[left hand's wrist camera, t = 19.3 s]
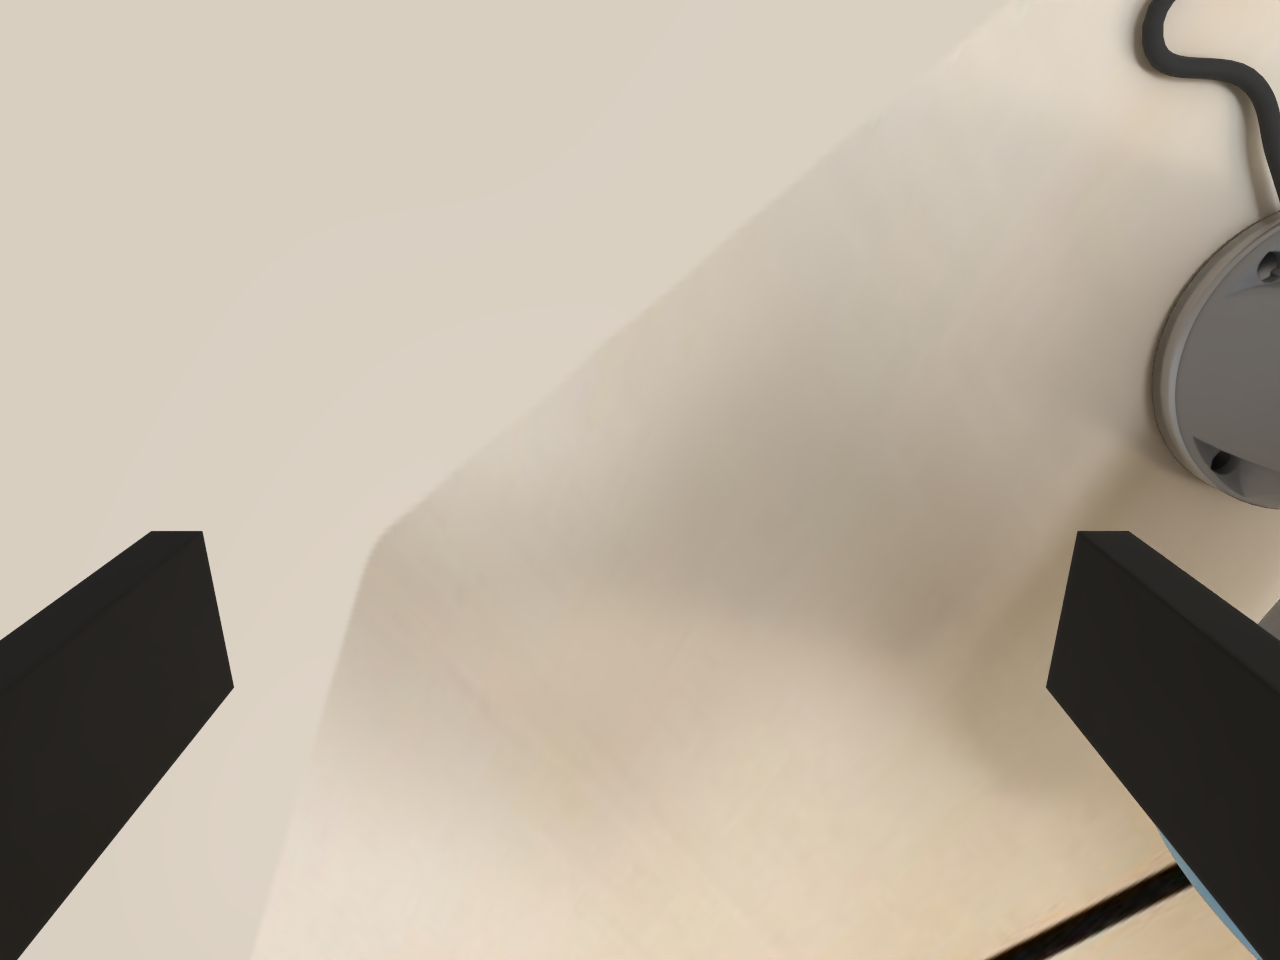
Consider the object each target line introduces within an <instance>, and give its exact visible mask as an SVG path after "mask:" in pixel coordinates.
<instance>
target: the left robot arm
mask: <svg viewBox="0 0 1280 960" xmlns="http://www.w3.org/2000/svg"><path fill="white" fill-rule="evenodd" d="M1174 1H1175V0H1153V1H1152V3H1151V4H1150V6H1149V7H1148V10H1147V13H1146V16H1145V19H1144V22H1143V26H1142V45H1143V48H1144V52H1145V56H1146V57H1147V59H1148V60H1149V62H1150V63H1151V65H1152V66H1153V67H1154V68H1156V69H1157V70H1158V71H1160V72H1162V73H1164V74H1167V75H1170V76H1175V77H1182V78H1200V79H1215V80H1222V81H1226V82H1230V83H1233V84H1235V85H1237V86H1239V87H1240V88H1241V89H1242V90H1243V91H1244V92H1246V94H1247V95H1248V96H1249V98H1250V99H1251V101H1252V103H1253V105H1254V107H1255V110H1256V113H1257V117H1258V121H1259V127H1260V133H1261V138H1262V144H1263V148H1264V153H1265V156H1266V159H1267V163H1268V166H1269V169H1270V172H1271V175H1272V178H1273V182H1274V185H1275V188H1276V191H1277V195H1278V198H1279V201H1280V112H1279V107H1278V104H1277V101H1276V98H1275V95H1274V93H1273V91H1272V89H1271V88H1270V86H1269V84H1268V83H1267V82H1266V80H1265V79H1264V78H1263V77H1262V76H1261V75H1260V74H1259V73H1258V72H1257V71H1256V70H1254V69H1253V68H1251V67H1249V66H1247V65H1245V64H1243V63H1239V62H1236V61H1232V60H1225V59H1213V58H1193V57H1185V56H1179V55H1177V54H1174V53H1172V52H1171V51H1169V50H1168V48H1167V47H1166V45H1165V42H1164V38H1163V23H1164V20H1165V17H1166V14H1167V11H1168V10H1169V8H1170V7H1171V5H1172V4H1173V2H1174ZM1152 397H1153V406H1154V412H1155V417H1156V420H1157V423H1158V427H1159V429H1160V432H1161V434H1162V436H1163V439H1164V441H1165V442H1166V444H1167V446H1168V448H1169V449H1170V451H1171V452H1172V453H1173V455H1174V456H1175V457H1176V459H1177V460H1178V461H1179V462H1180V463H1181V464H1182V465H1183V466H1184V467H1185V468H1186V469H1187V470H1188V471H1190V472H1191V473H1192V474H1193V475H1195V476H1196V477H1198V478H1199V479H1201V480H1202V481H1204V482H1206V483H1207V484H1209V485H1211V486H1213V487H1215V488H1217V489H1218V490H1220V491H1222V492H1224V493H1226V494H1228V495H1230V496H1232V497H1234V498H1236V499H1238V500H1240V501H1243V502H1246V503H1249V504H1252V505H1256V506H1260V507H1264V508H1271V509H1279V510H1280V212H1277V213H1275V214H1273V215H1271V216H1269V217H1267V218H1265V219H1263V220H1262V221H1260V222H1258V223H1256V224H1255V225H1253V226H1251V227H1250V228H1248V229H1247V230H1245V231H1244V232H1242V233H1241V234H1239V235H1238V236H1237V237H1235V238H1234V239H1233V240H1232V241H1230V242H1229V243H1228V244H1227V245H1225V246H1224V247H1223V248H1222V249H1221V250H1220V251H1219V252H1218V253H1217V254H1215V255H1214V256H1213V257H1212V258H1211V259H1210V260H1209V261H1208V262H1207V264H1206V265H1205V266H1204V267H1203V268H1202V269H1201V270H1200V271H1199V272H1198V274H1197V275H1196V276H1195V277H1194V279H1193V280H1192V281H1191V282H1190V284H1189V285H1188V286H1187V288H1186V289H1185V291H1184V292H1183V294H1182V295H1181V297H1180V298H1179V300H1178V302H1177V303H1176V305H1175V307H1174V309H1173V311H1172V312H1171V314H1170V316H1169V319H1168V321H1167V323H1166V325H1165V328H1164V330H1163V333H1162V336H1161V339H1160V341H1159V344H1158V348H1157V352H1156V356H1155V362H1154V368H1153V378H1152ZM233 688H234V685H233V680H232V675H231V670H230V666H229V661H228V656H227V650H226V646H225V641H224V636H223V631H222V626H221V621H220V616H219V611H218V606H217V601H216V596H215V591H214V586H213V581H212V576H211V571H210V566H209V562H208V557H207V552H206V547H205V542H204V537H203V532H202V531H151V532H149V533H148V534H147V535H145V536H144V537H143V538H141V539H140V540H138V541H137V542H136V543H134V544H133V545H132V546H130V547H129V548H127V549H126V550H125V551H123V552H122V553H120V554H119V555H118V556H116V557H115V558H114V559H112V560H111V561H109V562H108V563H107V564H105V565H104V566H102V567H101V568H100V569H98V570H97V571H96V572H94V573H93V574H91V575H90V576H89V577H87V578H86V579H84V580H83V581H82V582H80V583H79V584H78V585H76V586H75V587H73V588H72V589H71V590H69V591H68V592H67V593H65V594H64V595H62V596H61V597H60V598H58V599H57V600H55V601H54V602H53V603H51V604H50V605H49V606H47V607H46V608H44V609H43V610H42V611H40V612H39V613H38V614H36V615H35V616H33V617H32V618H31V619H29V620H28V621H26V622H25V623H24V624H22V625H21V626H20V627H18V628H17V629H15V630H14V631H13V632H11V633H10V634H9V635H7V636H6V637H4V638H3V639H2V640H0V960H17V959H18V958H19V957H20V956H21V954H22V953H23V952H24V950H25V949H26V948H27V947H28V945H29V944H30V943H31V942H32V940H33V939H34V938H35V937H36V935H37V934H38V933H39V932H40V930H41V929H42V928H43V927H44V925H45V924H46V923H47V922H48V920H49V919H50V918H51V917H52V915H53V914H54V913H55V912H56V910H57V909H58V908H59V907H60V905H61V904H62V903H63V902H64V900H65V899H66V898H67V897H68V895H69V894H70V893H71V892H72V890H73V889H74V888H75V886H76V885H77V884H78V883H79V881H80V880H81V879H82V878H83V876H84V875H85V874H86V873H87V871H88V870H89V869H90V868H91V866H92V865H93V864H94V863H95V861H96V860H97V859H98V857H99V856H100V855H101V854H102V853H103V851H104V850H105V849H106V848H107V846H108V845H109V844H110V842H111V841H112V840H113V839H114V838H115V836H116V835H117V834H118V832H119V831H120V830H121V829H122V827H123V826H124V825H125V824H126V822H127V821H128V820H129V819H130V817H131V816H132V815H133V814H134V812H135V811H136V810H137V809H138V807H139V806H140V805H141V804H142V802H143V801H144V800H145V799H146V797H147V796H148V795H149V794H150V792H151V791H152V790H153V788H154V787H155V786H156V785H157V784H158V782H159V781H160V780H161V778H162V777H163V776H164V775H165V773H166V772H167V771H168V770H169V768H170V767H171V766H172V765H173V763H174V762H175V761H176V760H177V758H178V757H179V756H180V755H181V753H182V752H183V751H184V750H185V748H186V747H187V746H188V745H189V743H190V742H191V741H192V740H193V738H194V737H195V736H196V735H197V733H198V732H199V731H200V730H201V728H202V727H203V726H204V724H205V723H206V722H207V721H208V719H209V718H210V717H211V716H212V714H213V713H214V712H215V711H216V709H217V708H218V707H219V706H220V704H221V703H222V702H223V701H224V699H225V698H226V697H227V696H228V694H229V693H230V692H231V691H232V689H233ZM1046 688H1047V689H1048V691H1049V692H1050V693H1051V694H1052V696H1053V697H1054V698H1055V699H1056V701H1057V702H1058V703H1059V704H1060V706H1061V707H1062V708H1063V709H1064V711H1065V712H1066V713H1067V714H1068V716H1069V717H1070V718H1071V719H1072V721H1073V722H1074V723H1075V724H1076V726H1077V727H1078V728H1079V730H1080V731H1081V732H1082V733H1083V735H1084V736H1085V737H1086V738H1087V740H1088V741H1089V742H1090V743H1091V745H1092V746H1093V747H1094V748H1095V750H1096V751H1097V752H1098V753H1099V755H1100V756H1101V757H1102V758H1103V760H1104V761H1105V762H1106V763H1107V765H1108V766H1109V767H1110V768H1111V770H1112V771H1113V772H1114V773H1115V775H1116V776H1117V777H1118V778H1119V780H1120V781H1121V782H1122V784H1123V785H1124V786H1125V787H1126V789H1127V790H1128V791H1129V792H1130V794H1131V795H1132V796H1133V797H1134V799H1135V800H1136V801H1137V802H1138V804H1139V805H1140V806H1141V807H1142V809H1143V810H1144V811H1145V812H1146V814H1147V815H1148V816H1149V817H1150V819H1151V820H1152V821H1153V822H1154V824H1155V825H1156V827H1157V829H1158V831H1159V833H1160V835H1161V837H1162V839H1163V841H1164V843H1165V844H1166V846H1167V848H1168V849H1169V851H1170V853H1171V854H1172V856H1173V857H1174V859H1175V861H1176V862H1177V864H1178V865H1179V867H1180V868H1181V869H1182V871H1183V872H1184V874H1185V875H1186V877H1187V878H1188V879H1189V881H1190V882H1191V884H1192V885H1193V886H1194V888H1195V889H1196V890H1197V891H1198V893H1199V894H1200V895H1201V897H1202V898H1203V899H1204V900H1205V902H1206V903H1207V904H1208V905H1209V906H1210V908H1211V909H1212V910H1213V911H1214V913H1215V914H1216V915H1217V916H1218V917H1219V918H1220V920H1221V921H1222V922H1223V923H1224V924H1225V925H1226V926H1227V928H1228V929H1229V930H1230V931H1231V932H1232V933H1233V934H1234V935H1235V937H1236V938H1237V939H1238V940H1239V941H1240V942H1241V943H1242V944H1243V945H1244V946H1245V947H1246V948H1247V949H1248V950H1249V951H1250V952H1251V953H1252V955H1253V956H1254V957H1255V958H1256V959H1257V960H1280V599H1279V600H1278V602H1277V603H1276V604H1275V605H1274V606H1273V607H1272V608H1271V610H1270V611H1269V612H1268V613H1267V614H1266V615H1265V616H1264V618H1263V619H1262V620H1261V621H1260V622H1259V623H1258V624H1256V623H1255V622H1254V621H1252V620H1251V619H1249V618H1248V617H1247V616H1245V615H1244V614H1243V613H1241V612H1240V611H1238V610H1237V609H1236V608H1234V607H1233V606H1231V605H1230V604H1229V603H1227V602H1226V601H1225V600H1223V599H1222V598H1220V597H1219V596H1218V595H1216V594H1215V593H1213V592H1212V591H1211V590H1209V589H1208V588H1207V587H1205V586H1204V585H1202V584H1201V583H1200V582H1198V581H1197V580H1196V579H1194V578H1193V577H1191V576H1190V575H1189V574H1187V573H1186V572H1184V571H1183V570H1182V569H1180V568H1179V567H1178V566H1176V565H1175V564H1173V563H1172V562H1171V561H1169V560H1168V559H1166V558H1165V557H1164V556H1162V555H1161V554H1160V553H1158V552H1157V551H1155V550H1154V549H1153V548H1151V547H1150V546H1149V545H1147V544H1146V543H1144V542H1143V541H1142V540H1140V539H1139V538H1137V537H1136V536H1135V535H1133V534H1132V533H1131V532H1129V531H1078V532H1077V537H1076V542H1075V547H1074V552H1073V556H1072V561H1071V566H1070V571H1069V576H1068V581H1067V586H1066V591H1065V596H1064V601H1063V606H1062V611H1061V616H1060V621H1059V626H1058V631H1057V636H1056V641H1055V646H1054V650H1053V655H1052V660H1051V665H1050V670H1049V675H1048V680H1047V685H1046Z"/></svg>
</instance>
